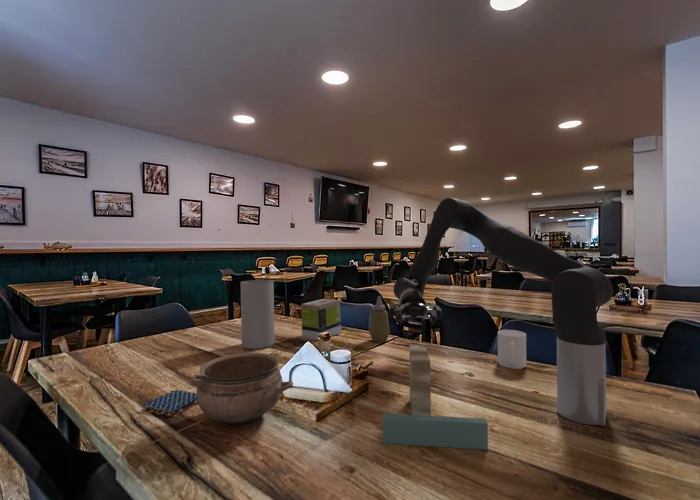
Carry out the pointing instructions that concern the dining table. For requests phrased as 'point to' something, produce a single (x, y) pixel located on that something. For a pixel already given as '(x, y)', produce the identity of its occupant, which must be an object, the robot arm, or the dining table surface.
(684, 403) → the dining table surface
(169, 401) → the woven mat
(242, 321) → the cylinder vase
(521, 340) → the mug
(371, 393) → the dining table surface
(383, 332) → the squeeze bottle
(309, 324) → the tea box
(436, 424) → the rail
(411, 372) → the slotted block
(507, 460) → the dining table surface
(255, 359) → the cooking pot
